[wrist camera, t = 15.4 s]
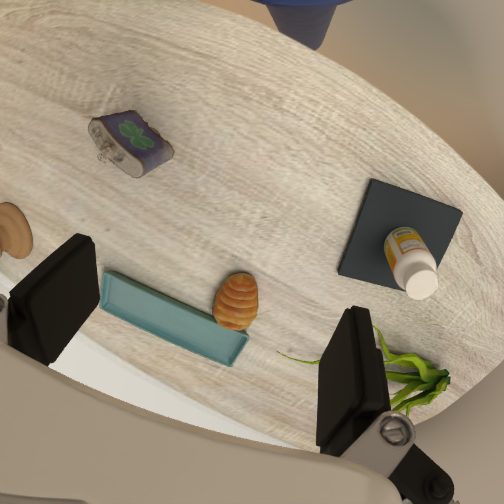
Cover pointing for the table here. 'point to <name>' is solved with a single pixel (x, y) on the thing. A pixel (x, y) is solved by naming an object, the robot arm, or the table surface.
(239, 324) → the pastry
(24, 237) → the candle holder
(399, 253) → the supplement bottle
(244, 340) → the teal serving tray
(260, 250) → the table surface
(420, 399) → the decorative plant
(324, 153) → the table surface
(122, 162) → the flask
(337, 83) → the table surface
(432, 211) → the mat
